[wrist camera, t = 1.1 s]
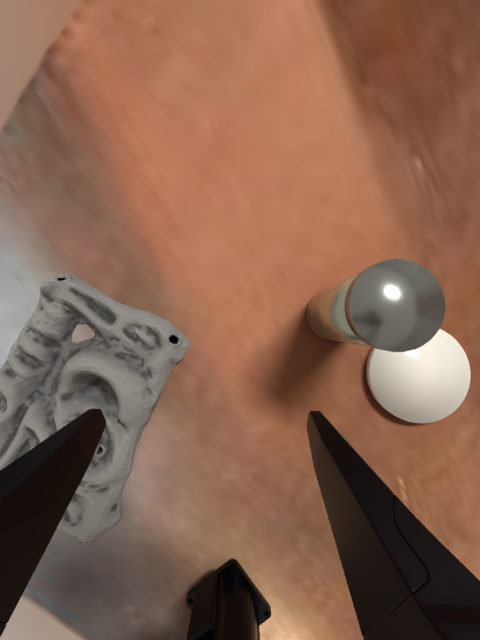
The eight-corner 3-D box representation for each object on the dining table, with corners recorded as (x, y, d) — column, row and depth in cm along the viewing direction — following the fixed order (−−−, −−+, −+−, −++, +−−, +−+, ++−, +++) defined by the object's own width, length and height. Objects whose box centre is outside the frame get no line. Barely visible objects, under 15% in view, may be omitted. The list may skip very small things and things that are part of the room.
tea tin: (369, 319, 23) (464, 314, 13) (327, 351, 23) (390, 371, 13) (336, 277, 23) (405, 240, 13) (294, 309, 23) (331, 297, 13)
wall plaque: (113, 533, 24) (86, 574, 20) (-35, 452, 24) (-89, 476, 20) (209, 340, 24) (202, 343, 20) (61, 265, 25) (26, 254, 21)
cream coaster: (482, 381, 23) (491, 383, 22) (406, 439, 23) (412, 443, 22) (421, 305, 23) (427, 304, 22) (346, 362, 23) (350, 364, 22)
